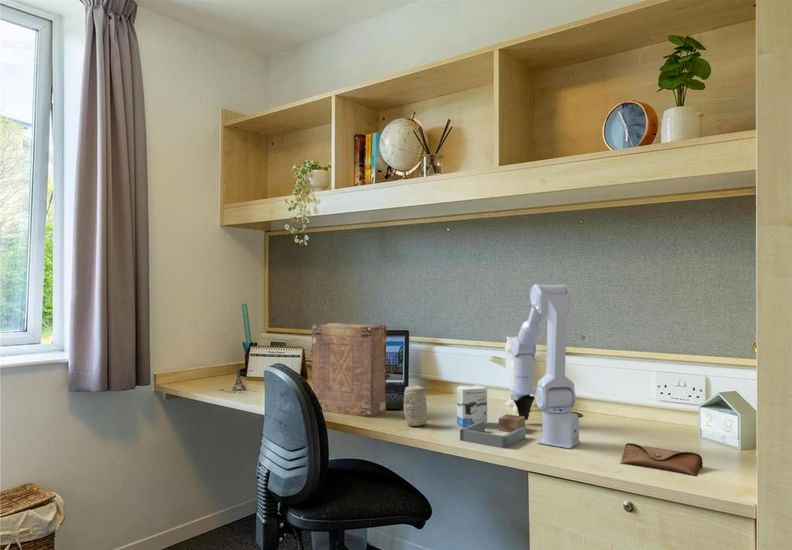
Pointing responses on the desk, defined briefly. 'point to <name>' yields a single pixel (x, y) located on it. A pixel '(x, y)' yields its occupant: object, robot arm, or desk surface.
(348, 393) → the book
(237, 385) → the eiffel tower figurine
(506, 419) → the brown wooden block
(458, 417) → the ink box
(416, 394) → the carving
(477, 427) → the box
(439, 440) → the desk surface
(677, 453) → the sunglasses case
